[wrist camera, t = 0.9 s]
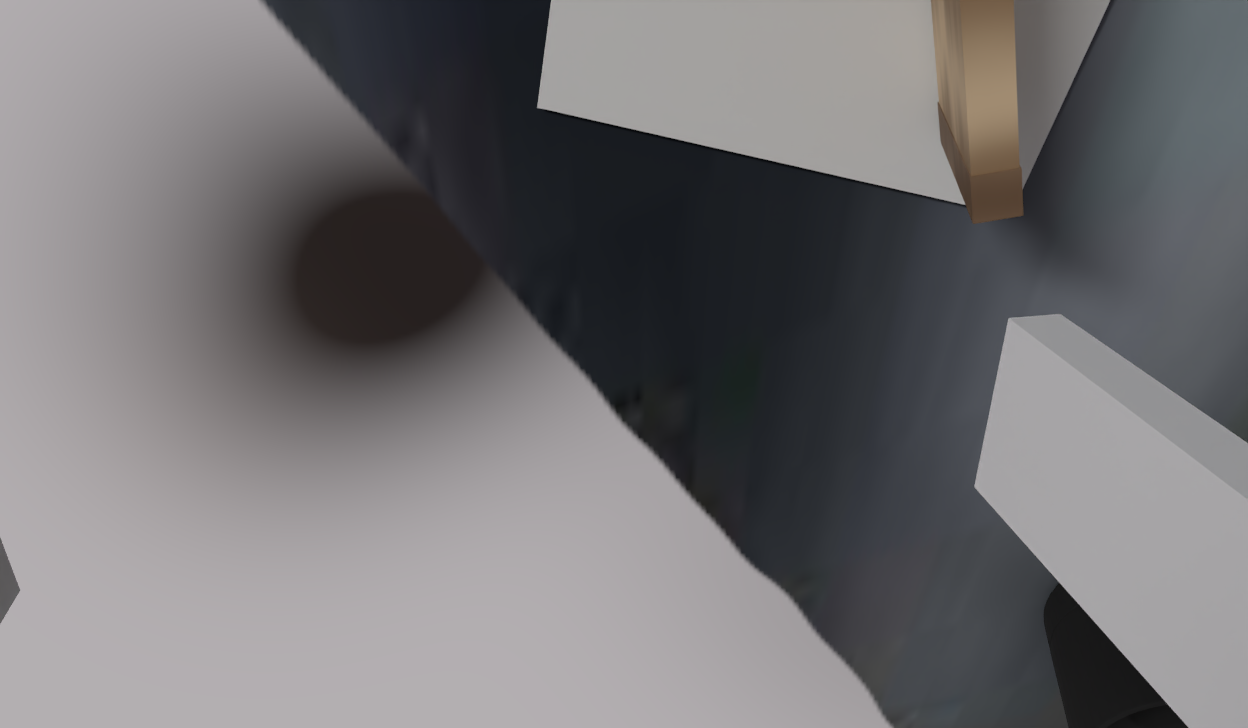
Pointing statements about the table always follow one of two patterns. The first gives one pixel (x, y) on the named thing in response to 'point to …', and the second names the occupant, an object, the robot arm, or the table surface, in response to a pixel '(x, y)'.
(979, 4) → the gate
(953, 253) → the table surface
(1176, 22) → the table surface
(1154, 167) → the table surface
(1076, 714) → the pen holder
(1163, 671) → the robot arm
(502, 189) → the table surface
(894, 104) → the base
